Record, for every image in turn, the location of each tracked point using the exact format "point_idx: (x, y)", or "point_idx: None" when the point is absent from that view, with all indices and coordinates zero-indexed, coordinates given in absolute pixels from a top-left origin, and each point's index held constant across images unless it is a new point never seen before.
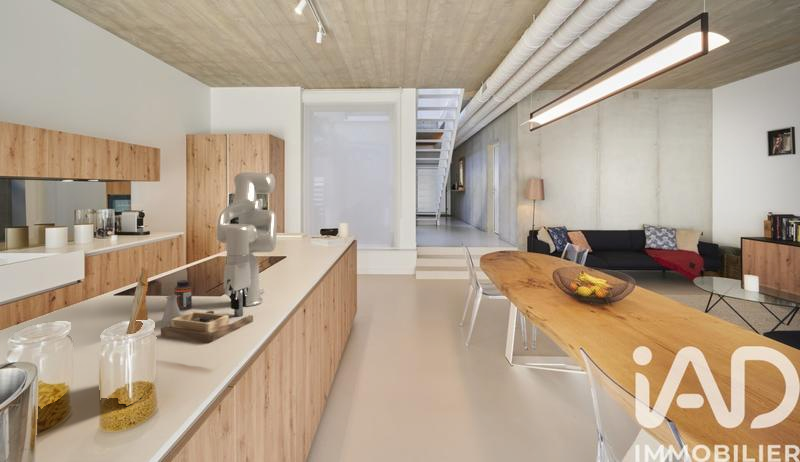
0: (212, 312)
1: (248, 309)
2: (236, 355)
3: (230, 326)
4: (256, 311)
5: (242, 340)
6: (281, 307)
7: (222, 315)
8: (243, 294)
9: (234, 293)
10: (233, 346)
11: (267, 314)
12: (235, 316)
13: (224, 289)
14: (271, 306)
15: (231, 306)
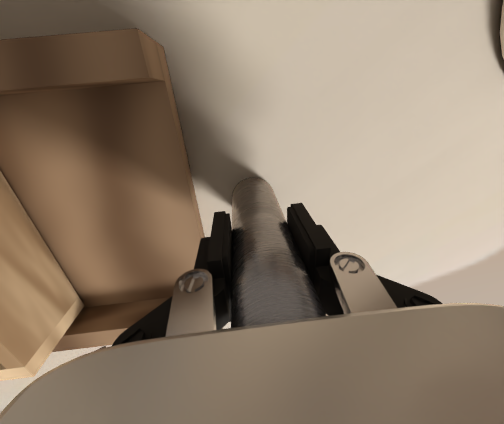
0: (136, 78)
1: (432, 113)
2: None
3: (56, 350)
4: (397, 183)
5: (95, 348)
6: (471, 242)
7: (4, 358)
8: (324, 311)
9: (234, 320)
10: (48, 357)
11: (359, 255)
12: (232, 206)
13: (23, 407)
14: (492, 192)
15: (213, 224)
